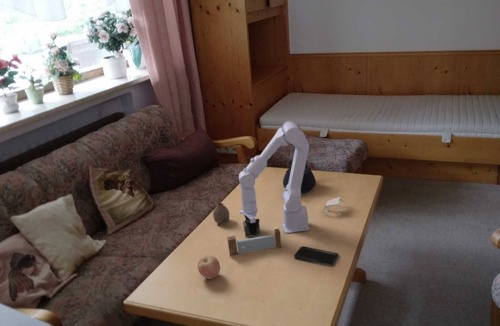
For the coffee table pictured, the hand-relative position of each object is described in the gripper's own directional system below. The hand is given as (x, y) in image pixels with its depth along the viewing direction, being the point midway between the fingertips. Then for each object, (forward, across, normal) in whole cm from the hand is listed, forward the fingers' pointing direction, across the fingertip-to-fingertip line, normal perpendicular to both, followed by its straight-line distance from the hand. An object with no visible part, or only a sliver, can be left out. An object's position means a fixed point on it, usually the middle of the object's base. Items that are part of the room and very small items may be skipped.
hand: (251, 229), depth 187 cm
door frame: (+1, +13, -1) cm, 13 cm away
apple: (+2, +25, -19) cm, 31 cm away
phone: (+2, +24, +20) cm, 31 cm away
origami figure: (+2, -7, +38) cm, 38 cm away
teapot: (+2, -34, +29) cm, 45 cm away
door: (+1, +14, 0) cm, 14 cm away
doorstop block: (+2, 0, 0) cm, 2 cm away
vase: (+2, -13, -11) cm, 17 cm away
